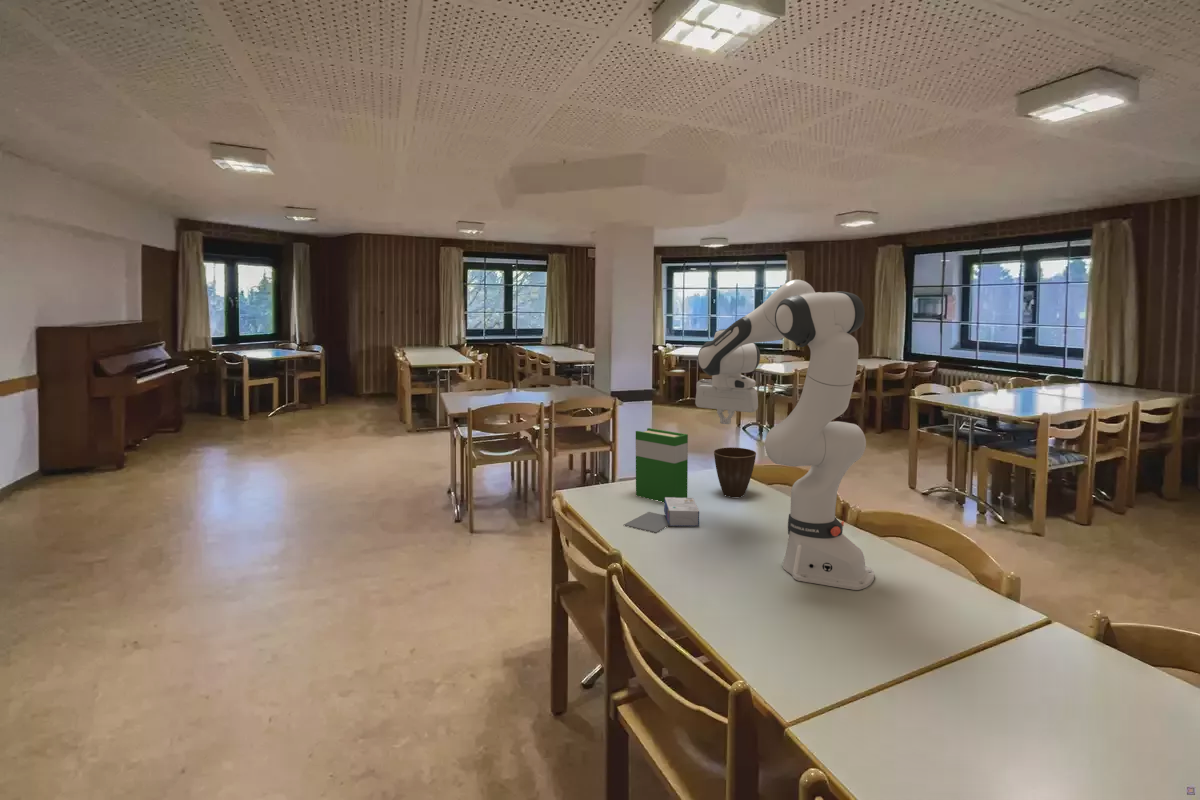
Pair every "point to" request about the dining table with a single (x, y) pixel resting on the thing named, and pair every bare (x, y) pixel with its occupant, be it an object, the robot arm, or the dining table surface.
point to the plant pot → (734, 469)
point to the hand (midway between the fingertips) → (725, 423)
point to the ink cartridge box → (681, 511)
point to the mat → (649, 522)
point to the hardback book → (661, 464)
